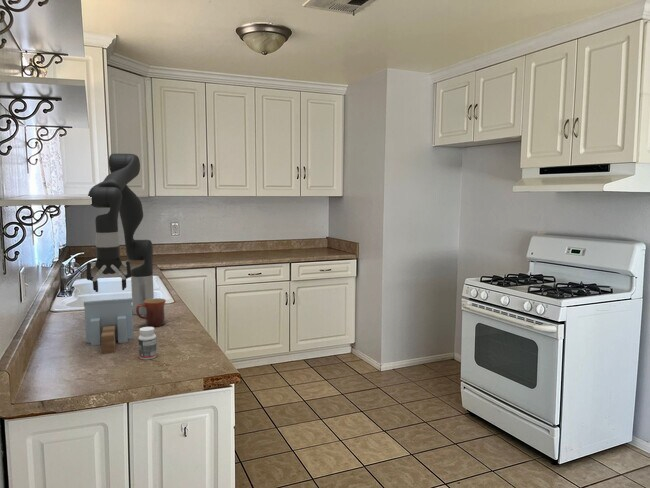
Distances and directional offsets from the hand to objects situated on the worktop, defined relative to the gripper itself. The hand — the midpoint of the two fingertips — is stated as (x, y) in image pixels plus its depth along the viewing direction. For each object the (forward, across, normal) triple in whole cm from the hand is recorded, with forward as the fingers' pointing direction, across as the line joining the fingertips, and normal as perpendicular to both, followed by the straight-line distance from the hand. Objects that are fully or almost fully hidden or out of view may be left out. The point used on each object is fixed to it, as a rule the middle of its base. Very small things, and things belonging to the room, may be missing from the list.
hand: (110, 290), depth 174 cm
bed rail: (+21, +1, -1) cm, 21 cm away
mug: (+21, -13, -25) cm, 35 cm away
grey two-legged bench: (+21, +2, -8) cm, 22 cm away
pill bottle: (+21, -12, +14) cm, 28 cm away
